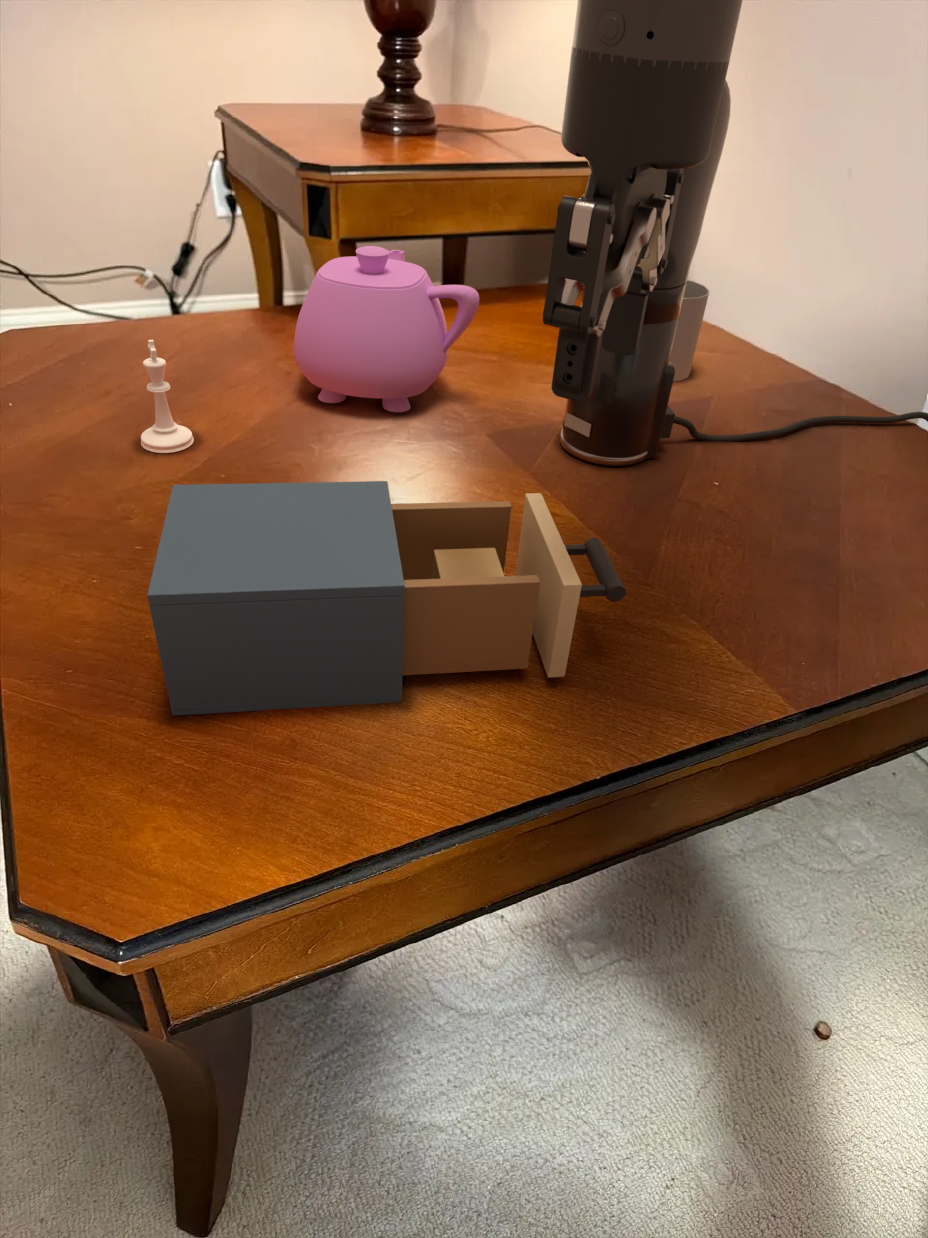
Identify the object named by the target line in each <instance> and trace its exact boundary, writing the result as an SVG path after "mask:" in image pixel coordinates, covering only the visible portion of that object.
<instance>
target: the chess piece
mask: <svg viewBox="0 0 928 1238" xmlns="http://www.w3.org/2000/svg"><path fill="white" fill-rule="evenodd" d="M147 343H148V344H147V348H148V351H149V356H150V357H148V358H145V359H144V360H143V361H142V365H143V368H144V369H145V372H146V374H147V375H148V377H149V379H150V382H148V383H147V384H146V390H147V391H148V392H151V393H153V397H154V399H153V400H154V415H155V417H154V419H155V421H154V424H152V426H150V427H149V428H147V429H144V431H143V432H142V433H141V435H140V440H141V441H140V445H141V447H142V449H144V450H146V451H148V452H151V453H156V454H157V453H158V454H172V453H177V452H182V451H184V450H186V449H188V448H190V447H191V446H192V445H193V444H194V441H195V438H194V436H193V432H192V431H191V429H189V428H188V427H186V426H184V425H180V424H178V423H177V422H175V421H174V419H173V416H172V412H171V410H170V407H169V403H168V400H167V396H166V392H168V391H170V389H171V384H170V383H169V382H168V381H165V380H164V378H165V372H166V367H167V362H166V361H167V360H166V359H164V358H161V357H158V351H157V349H156V346H155V340H154V339H147Z"/></svg>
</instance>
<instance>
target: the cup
mask: <svg viewBox="0 0 928 1238" xmlns="http://www.w3.org/2000/svg"><path fill="white" fill-rule="evenodd" d="M709 296H710V289H709V288H707V287H706V285H704V284H701V283H698V282H697V281H694V280H690V279H688V280H687V283H686V287H685V292H684V296H683V301H682V305H681V310H680V314H679V319H678V324H677V328H676V333H675V337H674V342H673V346H672V351H671V356H670V360H669V361H670V362H671V363H672V364H673V366H674V367H675V376H674V380H673V382H681V381H683V380H686V379H688V378H689V376H690V374H691V370H692V367H693V363H694V357H695V354H696V349H697V346H698V341H699V338H700V337H699V336H700V332H701V329H702V325H703V321H704V316H705V311H706V307H707V303H708V300H709Z"/></svg>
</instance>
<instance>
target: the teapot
mask: <svg viewBox="0 0 928 1238" xmlns="http://www.w3.org/2000/svg"><path fill="white" fill-rule="evenodd" d="M355 253H356V256H340V257H335V258H332V259H331V260H328V261H327V262H326V263H324V264H323V265H322V266H321V267H320V268H318V270H317V271H316V274H315V276H314V277H313V279H312V282H311V284H310V286H309V288H308V291H307V293H306V295H305V298H304V300H303V302H302V305H301V308H300V311H299V314H298V317H297V320H296V325H295V332H294V338H293V339H294V340H293V358H294V361H295V363H296V365H297V367H298V369H299V370H300V371H301V373H302V374H303V376H304V377H305V378H306V379H307V380H308V382H309V383H311V384H312V385H313V386H315V387H318V388H320V389H321V391H320V393H319V394H318V396H317V399H318V401H320V402H322V403H327V404H337V403H341V402H342V403H343V402H344V401H345V400H346V399H347V396H348V397H349V396H350V397H357V398H363V399H364V398H366V399H381V402H382V408H383V409H384V410H385V411H387V412H390V413H403V412H407V411H409V410H410V409H411V404H410V402H409V399H408V398H411V397H415V396H418V395H421V394H422V393H424V392H425V391H427V390H428V389H429V388H430V387H431V386H432V385H433V383H434V382H435V381H436V380H437V378H438V377H439V375H440V374H441V373H442V371H443V369H444V368H445V367H446V363H447V361H448V357H449V349H450V348H451V347H452V346H453V345H454V344H455V343H456V342H457V341H458V340H459V338H460V337H461V336H462V335H463V334H464V332H465V331H466V330H467V329H468V327H469V326H470V324H471V323H472V322H473V320H474V319H475V316H476V314H477V312H478V309H479V306H480V295H479V294H480V293H478V291H477V290H476V289H475V288H474V287H472V286H469V285H465V284H443V285H441V284H440V285H434V284H433V281H432V280H431V278H430V276H429V274H428V272H427V270H426V269H425V268H424V267H422V266H420V265H418V264H415V263H413V262H409V261H406V251H405V250H401V249H400V250H399V249H391V250H390V251H389V250H388V249H386V248H384V247H381V246H376V245H364V246H361V247H358V248H356V249H355ZM440 299H451V300H454V301H456V303H457V311H456V314H455V317H454V320H453V322H452V324H451V326H450V328H449V329H448V328H447V323H446V322H447V321H446V318H445V313H444V310H443V307H442V304H441V301H440Z"/></svg>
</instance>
